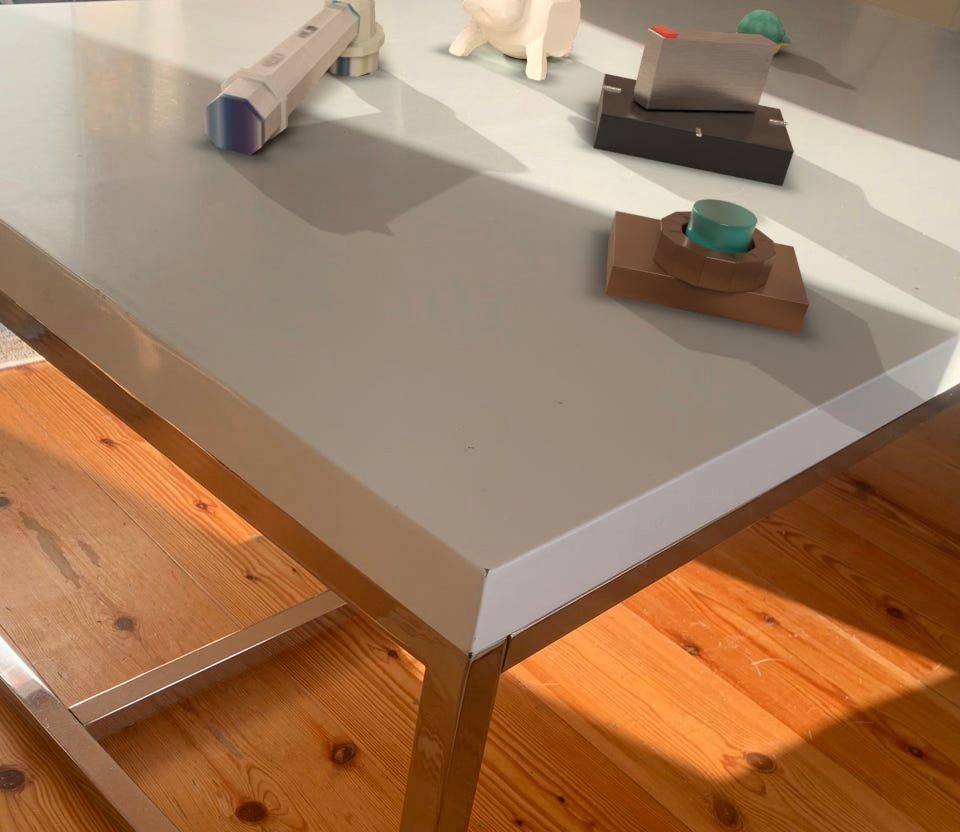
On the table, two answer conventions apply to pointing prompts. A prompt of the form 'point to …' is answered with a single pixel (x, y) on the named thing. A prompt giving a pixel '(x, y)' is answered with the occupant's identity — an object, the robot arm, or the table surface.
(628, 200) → the table surface
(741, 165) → the lever base
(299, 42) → the white flashlight
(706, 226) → the button
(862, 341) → the table surface
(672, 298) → the button block
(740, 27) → the turtle figurine
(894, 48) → the table surface
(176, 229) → the table surface
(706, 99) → the red-tipped steel block
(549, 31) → the pig figurine
